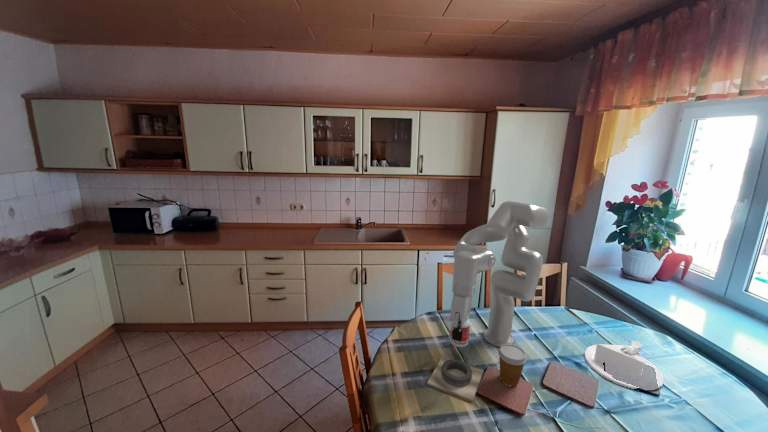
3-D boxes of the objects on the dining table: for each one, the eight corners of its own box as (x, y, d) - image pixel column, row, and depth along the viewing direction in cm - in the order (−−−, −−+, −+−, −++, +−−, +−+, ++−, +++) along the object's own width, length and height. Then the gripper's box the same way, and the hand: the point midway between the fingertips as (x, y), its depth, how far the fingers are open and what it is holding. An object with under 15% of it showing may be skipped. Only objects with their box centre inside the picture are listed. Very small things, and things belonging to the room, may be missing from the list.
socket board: (442, 358, 128) (442, 349, 127) (483, 372, 120) (484, 363, 119) (427, 384, 114) (427, 374, 113) (472, 402, 107) (473, 392, 106)
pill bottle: (471, 343, 113) (474, 315, 110) (459, 350, 110) (461, 321, 107) (458, 334, 118) (460, 307, 115) (446, 340, 115) (448, 312, 112)
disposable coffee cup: (510, 393, 111) (514, 363, 108) (489, 375, 119) (492, 347, 116) (529, 384, 115) (533, 355, 112) (508, 368, 123) (511, 340, 120)
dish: (651, 357, 131) (657, 333, 128) (673, 401, 109) (681, 373, 106) (581, 340, 141) (585, 317, 138) (589, 378, 119) (594, 351, 116)
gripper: (460, 276, 118) (456, 320, 122) (444, 295, 103) (441, 344, 107) (480, 280, 114) (476, 325, 119) (467, 301, 100) (463, 352, 104)
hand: (459, 334), depth 113 cm, fingers closed on pill bottle, 6 cm apart
